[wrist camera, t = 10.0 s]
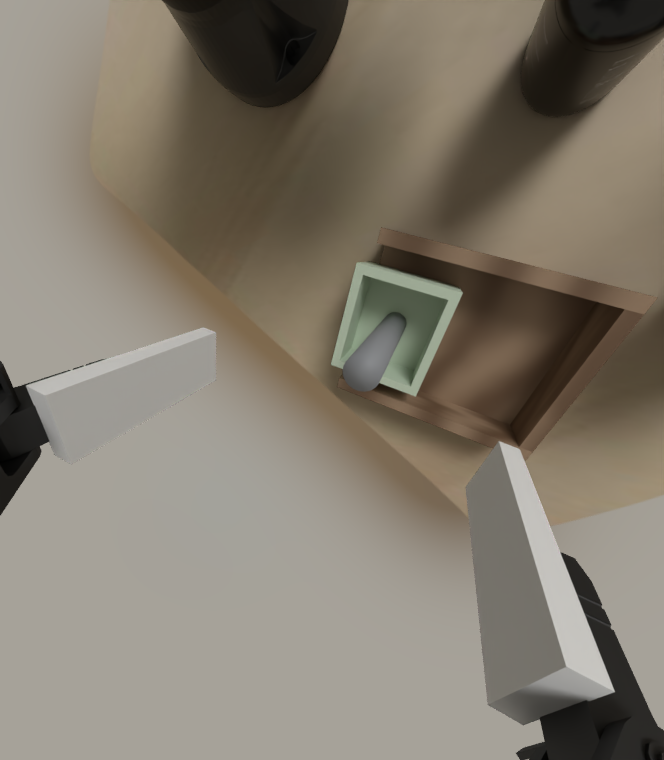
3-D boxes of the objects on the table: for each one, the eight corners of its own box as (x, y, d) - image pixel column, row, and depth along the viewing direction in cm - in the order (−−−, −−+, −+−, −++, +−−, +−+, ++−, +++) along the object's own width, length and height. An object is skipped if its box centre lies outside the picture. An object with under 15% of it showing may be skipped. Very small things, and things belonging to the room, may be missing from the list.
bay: (349, 370, 35) (336, 387, 30) (390, 231, 27) (381, 227, 23) (513, 432, 31) (525, 461, 26) (617, 289, 23) (657, 297, 19)
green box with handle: (345, 350, 32) (284, 410, 20) (369, 261, 27) (310, 267, 15) (419, 376, 30) (404, 462, 18) (459, 286, 26) (477, 317, 13)
